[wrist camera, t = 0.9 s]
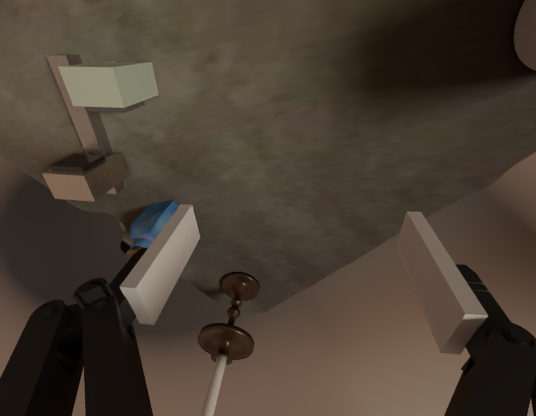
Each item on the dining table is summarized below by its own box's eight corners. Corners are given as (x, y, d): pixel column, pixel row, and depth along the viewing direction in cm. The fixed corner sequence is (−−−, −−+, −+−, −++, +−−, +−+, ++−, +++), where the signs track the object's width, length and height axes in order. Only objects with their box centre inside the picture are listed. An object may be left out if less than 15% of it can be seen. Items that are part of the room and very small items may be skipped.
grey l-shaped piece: (48, 54, 38) (-20, 57, 30) (91, 54, 37) (33, 58, 29) (101, 185, 50) (62, 213, 42) (133, 188, 49) (101, 216, 41)
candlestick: (214, 291, 63) (138, 504, 34) (224, 263, 57) (142, 491, 28) (255, 304, 64) (215, 522, 35) (269, 278, 58) (235, 513, 29)
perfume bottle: (173, 199, 50) (140, 239, 40) (188, 224, 53) (161, 267, 43) (147, 206, 51) (109, 245, 41) (163, 230, 54) (131, 272, 44)
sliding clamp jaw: (107, 61, 37) (57, 66, 30) (151, 62, 37) (112, 67, 29) (118, 99, 40) (75, 112, 33) (159, 100, 39) (125, 114, 32)
